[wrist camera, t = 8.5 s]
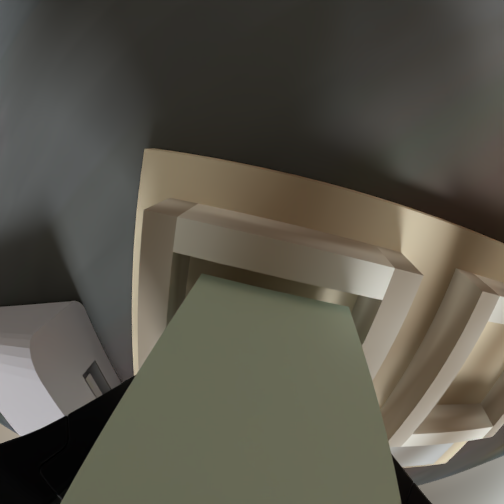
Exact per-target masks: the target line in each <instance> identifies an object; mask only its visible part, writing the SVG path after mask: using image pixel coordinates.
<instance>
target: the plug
mask: <svg viewBox="0 0 504 504" xmlns="http://www.w3.org/2000/svg"><path fill="white" fill-rule="evenodd" d="M60 504H401V498H400V493H399V488H398V483H397V478H396V473H395V468H394V464H393V459H392V455H391V450H390V446H389V442H388V438H387V434H386V430H385V426H384V422H383V418H382V414H381V410H380V406H379V403H378V399H377V396H376V392H375V388H374V385H373V381H372V378H371V375H370V371H369V368H368V365H367V361H366V358H365V355H364V352H363V348H362V345H361V342H360V339H359V336H358V333H357V330H356V327H355V324H354V321H353V318H352V315H351V312H350V309H349V307H347V306H342V305H338V304H333V303H328V302H323V301H319V300H314V299H310V298H305V297H301V296H296V295H292V294H287V293H283V292H278V291H274V290H269V289H265V288H261V287H257V286H252V285H248V284H244V283H240V282H235V281H231V280H227V279H223V278H219V277H215V276H211V275H207V274H203V273H202V274H201V275H200V277H199V278H198V280H197V281H196V283H195V284H194V286H193V287H192V289H191V290H190V292H189V293H188V295H187V296H186V298H185V300H184V301H183V303H182V304H181V306H180V307H179V309H178V310H177V312H176V313H175V315H174V316H173V318H172V319H171V321H170V322H169V324H168V326H167V327H166V329H165V330H164V332H163V333H162V335H161V336H160V338H159V340H158V341H157V343H156V344H155V346H154V347H153V349H152V351H151V352H150V354H149V355H148V357H147V358H146V360H145V362H144V363H143V365H142V366H141V368H140V370H139V371H138V373H137V374H136V376H135V378H134V379H133V381H132V382H131V384H130V386H129V387H128V389H127V390H126V392H125V394H124V395H123V397H122V399H121V400H120V402H119V403H118V405H117V407H116V408H115V410H114V412H113V413H112V415H111V417H110V418H109V420H108V422H107V423H106V425H105V427H104V428H103V430H102V432H101V433H100V435H99V437H98V438H97V440H96V442H95V444H94V445H93V447H92V449H91V450H90V452H89V454H88V456H87V457H86V459H85V461H84V462H83V464H82V466H81V468H80V469H79V471H78V473H77V475H76V476H75V478H74V480H73V482H72V484H71V485H70V487H69V489H68V491H67V492H66V494H65V496H64V498H63V500H62V502H61V503H60Z"/></svg>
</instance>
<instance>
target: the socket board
mask: <svg viewBox="0 0 504 504" xmlns="http://www.w3.org/2000/svg"><path fill="white" fill-rule="evenodd" d="M202 273H203V274H207V275H211V276H215V277H219V278H223V279H227V280H231V281H235V282H240V283H244V284H248V285H252V286H257V287H261V288H265V289H269V290H274V291H278V292H283V293H287V294H292V295H296V296H301V297H305V298H310V299H314V300H319V301H323V302H328V303H333V304H338V305H342V306H347V307H349V309H350V312H351V315H352V318H353V321H354V324H355V327H356V330H357V333H358V336H359V339H360V342H361V345H362V348H363V352H364V355H365V358H366V361H367V365H368V368H369V371H370V375H371V378H372V381H373V385H374V388H375V392H376V396H377V399H378V403H379V406H380V410H381V414H382V418H383V422H384V426H385V430H386V434H387V438H388V442H389V446H390V450H391V454H392V455H393V456H394V458H395V459H396V460H397V461H398V463H399V464H400V465H401V466H402V468H409V467H419V466H428V465H436V464H443V463H446V462H447V461H448V460H450V459H451V458H452V457H453V456H454V455H455V454H456V453H457V452H458V451H459V450H460V449H461V448H462V447H463V446H464V444H465V443H466V442H467V441H470V440H476V439H482V438H488V437H493V435H494V434H495V433H496V432H497V431H498V430H499V429H500V428H501V426H502V425H503V424H504V243H502V242H499V241H497V240H495V239H492V238H490V237H487V236H485V235H483V234H480V233H478V232H475V231H473V230H470V229H468V228H465V227H462V226H460V225H457V224H455V223H452V222H449V221H447V220H444V219H441V218H438V217H436V216H433V215H430V214H427V213H424V212H421V211H418V210H415V209H413V208H410V207H407V206H403V205H400V204H397V203H394V202H391V201H388V200H385V199H382V198H378V197H375V196H372V195H368V194H365V193H362V192H358V191H355V190H351V189H348V188H344V187H340V186H337V185H333V184H329V183H326V182H322V181H318V180H314V179H310V178H306V177H302V176H298V175H294V174H289V173H285V172H281V171H276V170H272V169H268V168H263V167H258V166H254V165H249V164H244V163H239V162H234V161H229V160H223V159H218V158H212V157H207V156H201V155H195V154H189V153H183V152H176V151H170V150H163V149H155V148H150V149H145V150H144V156H143V163H142V170H141V178H140V186H139V194H138V204H137V214H136V225H135V239H134V255H133V278H132V346H133V368H134V376H135V375H136V374H137V373H138V371H139V370H140V368H141V366H142V365H143V363H144V362H145V360H146V358H147V357H148V355H149V354H150V352H151V351H152V349H153V347H154V346H155V344H156V343H157V341H158V340H159V338H160V336H161V335H162V333H163V332H164V330H165V329H166V327H167V326H168V324H169V322H170V321H171V319H172V318H173V316H174V315H175V313H176V312H177V310H178V309H179V307H180V306H181V304H182V303H183V301H184V300H185V298H186V296H187V295H188V293H189V292H190V290H191V289H192V287H193V286H194V284H195V283H196V281H197V280H198V278H199V277H200V275H201V274H202Z"/></svg>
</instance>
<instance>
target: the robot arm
mask: <svg viewBox="0 0 504 504" xmlns="http://www.w3.org/2000/svg"><path fill="white" fill-rule="evenodd" d="M135 376H136V375H135ZM135 376H133V377H131V378H130V379H128V380H126V381H125V382H123V383H121V384H120V385H118V386H116V387H115V388H113V389H111V390H109V391H108V392H106V393H104V394H103V395H101V396H99V397H97V398H96V399H94V400H92V401H91V402H89V403H87V404H85V405H84V406H82V407H80V408H78V409H76V410H75V411H73V412H71V413H69V414H68V416H64V417H62V418H60V419H58V420H56V421H55V422H53V423H51V424H49V425H47V426H45V427H43V428H41V429H38V430H36V431H33V432H31V433H28V434H26V435H23V436H21V437H18V438H15V439H12V440H9V441H7V442H4V443H1V444H0V504H60V503H61V502H62V500H63V498H64V496H65V494H66V492H67V491H68V489H69V487H70V485H71V484H72V482H73V480H74V478H75V476H76V475H77V473H78V471H79V469H80V468H81V466H82V464H83V462H84V461H85V459H86V457H87V456H88V454H89V452H90V450H91V449H92V447H93V445H94V444H95V442H96V440H97V438H98V437H99V435H100V433H101V432H102V430H103V428H104V427H105V425H106V423H107V422H108V420H109V418H110V417H111V415H112V413H113V412H114V410H115V408H116V407H117V405H118V403H119V402H120V400H121V399H122V397H123V395H124V394H125V392H126V390H127V389H128V387H129V386H130V384H131V382H132V381H133V379H134V378H135ZM391 455H392V454H391ZM392 459H393V464H394V468H395V473H396V478H397V483H398V488H399V493H400V498H401V504H432V503H431V502H430V501H429V500H428V499H427V498H426V496H425V495H424V494H423V493H422V491H421V490H420V489H419V488H418V486H417V485H416V484H415V483H413V480H412V479H411V478H410V477H409V475H408V474H407V473H406V472H405V470H404V469H403V468H402V466H401V465H400V464H399V463H398V461H397V460H396V459H395V458H394V456H393V455H392Z"/></svg>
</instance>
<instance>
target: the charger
mask: <svg viewBox="0 0 504 504" xmlns="http://www.w3.org/2000/svg"><path fill="white" fill-rule="evenodd" d="M95 361H96V362H95ZM96 363H97V364H96ZM97 365H98V366H99V368H100V370H101V371H100V370H99V368H98V366H97ZM101 372H102V373H101ZM102 374H103V375H102ZM103 376H104V377H105V379H106V380H105V379H104V377H103ZM106 381H107V382H106ZM107 383H108V384H109V385H108V384H107ZM120 384H121V382H120V380H119V378H118V376H117V374H116V373H115V371H114V369H113V367H112V365H111V363H110V361H109V359H108V357H107V355H106V353H105V351H104V349H103V347H102V345H101V343H100V341H99V339H98V337H97V335H96V332H95V330H94V328H93V326H92V324H91V321H90V319H89V317H88V315H87V312H86V310H85V308H84V306H83V305H82V304H81V303H80V302H78V301H66V302H55V303H43V304H31V305H18V306H4V307H0V412H1V413H2V414H3V416H4V417H5V418H6V420H7V421H8V422H9V424H10V425H11V426H12V427H13V429H14V430H15V431H16V432H17V433H18V434H19V435H20V436H23V435H26V434H28V433H31V432H33V431H36V430H38V429H41V428H43V427H45V426H47V425H49V424H51V423H53V422H55V421H56V420H58V419H60V418H62V417H64V416H68V414H69V413H71V412H73V411H75V410H76V409H78V408H80V407H82V406H84V405H85V404H87V403H89V402H91V401H92V400H94V399H96V398H97V397H99V396H101V395H103V394H104V393H106V392H108V391H109V390H111V389H113V388H115V387H116V386H118V385H120ZM109 386H110V387H109ZM110 388H111V389H110Z"/></svg>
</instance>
